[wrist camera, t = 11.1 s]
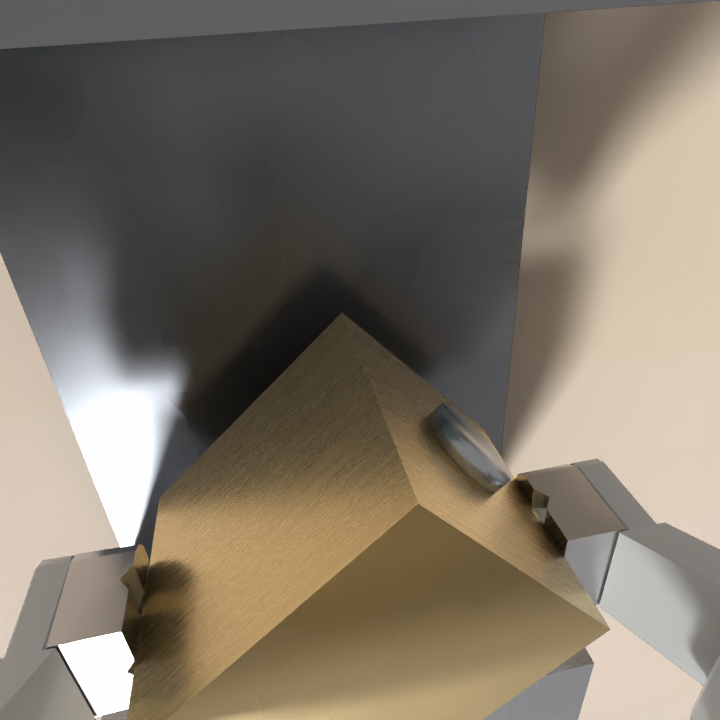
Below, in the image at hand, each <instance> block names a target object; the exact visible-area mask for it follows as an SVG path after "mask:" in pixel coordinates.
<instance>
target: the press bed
mask: <svg viewBox="0 0 720 720" xmlns="http://www.w3.org/2000/svg"><path fill="white" fill-rule="evenodd" d="M544 19H545V13H531V14H516V15H501V16H486V17H471V18H456V19H442V20H427V21H412V22H397V23H382V24H367V25H352V26H338V27H323V28H308V29H293V30H278V31H263V32H248V33H233V34H219V35H204V36H189V37H174V38H159V39H144V40H129V41H115V42H100V43H85V44H70V45H55V46H40V47H25V48H11V49H0V253H1V255H2V258H3V260H4V262H5V265H6V267H7V270H8V272H9V275H10V277H11V280H12V282H13V284H14V287H15V289H16V292H17V294H18V297H19V299H20V302H21V304H22V307H23V309H24V311H25V314H26V316H27V319H28V321H29V324H30V326H31V329H32V331H33V334H34V336H35V338H36V341H37V343H38V346H39V348H40V351H41V353H42V356H43V358H44V360H45V363H46V365H47V368H48V370H49V373H50V375H51V378H52V380H53V383H54V385H55V387H56V390H57V392H58V395H59V397H60V400H61V402H62V405H63V407H64V409H65V412H66V414H67V417H68V419H69V422H70V424H71V427H72V429H73V432H74V434H75V436H76V439H77V441H78V444H79V446H80V449H81V451H82V454H83V456H84V458H85V461H86V463H87V466H88V468H89V471H90V473H91V476H92V478H93V481H94V483H95V485H96V488H97V490H98V493H99V495H100V498H101V500H102V503H103V505H104V507H105V510H106V512H107V515H108V517H109V520H110V522H111V525H112V527H113V530H114V532H115V534H116V537H117V539H118V542H119V544H120V547H125V546H132V545H138V544H140V545H143V546H144V548H145V550H146V553H147V555H148V558H149V562H148V569H147V572H149V565H150V558H151V552H152V545H153V538H154V531H155V524H156V518H157V511H158V504H159V498H160V497H161V496H162V495H163V494H164V493H165V492H166V491H167V490H168V489H169V488H170V487H171V486H172V485H173V484H174V483H175V482H176V481H177V480H178V479H179V478H180V477H181V476H182V475H183V473H184V472H185V471H186V470H187V469H188V468H189V467H190V466H191V465H192V464H193V463H194V462H195V461H196V460H197V459H198V458H199V457H200V456H201V455H202V454H203V453H204V452H205V451H206V450H207V449H208V448H209V447H210V446H211V445H212V444H213V443H214V442H215V441H216V440H217V439H218V438H219V437H220V436H221V435H222V434H223V433H224V432H225V431H226V430H227V429H228V428H229V427H230V426H231V425H232V424H233V423H234V422H235V421H236V420H237V419H238V418H239V417H240V416H241V415H242V414H243V413H244V412H245V411H246V410H247V409H248V407H249V406H250V405H251V404H252V403H253V402H254V401H255V400H256V399H257V398H258V397H259V396H260V395H261V394H262V393H263V392H264V391H265V390H266V389H267V388H268V387H269V386H270V385H271V384H272V383H273V382H274V381H275V380H276V379H277V378H278V377H279V376H280V375H281V374H282V373H283V372H284V371H285V370H286V369H287V368H288V367H289V366H290V365H291V364H292V363H293V362H294V361H295V360H296V359H297V358H298V357H299V356H300V355H301V354H302V353H303V352H304V351H305V350H306V349H307V348H308V347H309V346H310V345H311V344H312V343H313V341H314V340H315V339H316V338H317V337H318V336H319V335H320V334H321V333H322V332H323V331H324V330H325V329H326V328H327V327H328V326H329V325H330V324H331V323H332V322H333V321H334V320H335V319H336V318H337V317H338V316H339V315H340V314H341V313H344V314H345V315H346V316H347V317H348V318H350V319H351V320H352V321H353V322H354V323H356V324H357V325H358V326H359V327H361V328H362V329H363V330H364V331H365V332H367V333H368V334H369V335H370V336H371V337H373V338H374V339H375V340H376V341H378V342H379V343H380V344H381V345H382V346H384V347H385V348H386V349H387V350H388V351H390V352H391V353H392V354H393V355H395V356H396V357H397V358H398V359H399V360H401V361H402V362H403V363H404V364H406V365H407V366H408V367H409V368H410V369H412V370H413V371H414V372H415V373H416V374H418V375H419V376H420V377H421V378H423V379H424V380H425V381H426V382H427V383H429V384H430V385H431V386H432V387H433V388H435V389H436V390H437V391H438V392H440V393H441V394H442V395H443V396H444V397H446V398H447V399H448V400H449V401H450V402H452V403H453V404H454V405H455V406H457V407H458V408H459V409H460V410H461V411H463V412H464V413H465V414H466V415H467V416H469V417H470V418H471V419H472V420H474V421H475V422H476V423H477V424H478V425H480V426H481V427H482V428H483V429H484V431H485V432H486V434H487V436H488V437H489V439H490V440H491V442H492V443H493V445H494V447H495V448H496V450H497V451H498V453H499V454H500V456H501V446H502V436H503V426H504V416H505V406H506V396H507V386H508V377H509V367H510V357H511V347H512V337H513V327H514V317H515V307H516V297H517V287H518V277H519V267H520V257H521V248H522V238H523V228H524V218H525V208H526V198H527V188H528V178H529V168H530V158H531V148H532V138H533V128H534V119H535V109H536V99H537V89H538V79H539V69H540V59H541V49H542V39H543V29H544ZM593 665H594V662H593V661H592V659H591V657H590V655H589V654H588V652H587V650H586V648H583V649H582V650H580V651H579V652H578V653H576V654H575V655H573V656H572V657H571V658H569V659H568V660H566V661H565V662H563V663H562V664H561V665H559V666H558V667H556V668H555V669H554V670H552V671H551V672H549V673H548V674H546V675H545V676H544V677H542V678H541V679H539V680H538V681H537V682H535V683H534V684H532V685H531V686H529V687H528V688H527V689H525V690H524V691H522V692H521V693H520V694H518V695H517V696H515V697H514V698H513V699H511V700H510V701H508V702H507V703H505V704H504V705H503V706H501V707H500V708H498V709H497V710H496V711H494V712H493V713H491V714H490V715H488V716H487V717H486V718H484V719H483V720H578V717H579V714H580V710H581V707H582V703H583V700H584V696H585V693H586V690H587V686H588V683H589V679H590V676H591V672H592V669H593ZM127 715H128V709H126V710H122V711H118V712H114V713H110V714H106V715H102V719H101V720H127Z"/></svg>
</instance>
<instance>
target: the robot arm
mask: <svg viewBox="0 0 720 720" xmlns="http://www.w3.org/2000/svg"><path fill="white" fill-rule="evenodd" d="M515 480H516V482H517V484H518V485H519V487H520V488H521V490H522V492H523V493H524V495H525V496H526V498H527V499H528V501H529V503H530V504H531V506H532V507H533V508H534V510H535V511H536V513H537V514H538V516H539V518H540V519H541V521H542V522H543V524H544V526H545V528H546V529H547V531H548V533H549V534H550V536H551V537H552V539H553V540H554V542H555V544H556V545H557V547H558V548H559V550H560V551H561V553H562V555H563V556H564V557H565V559H566V560H567V562H568V563H569V565H570V566H571V568H572V570H573V571H574V573H575V574H576V576H577V577H578V579H579V581H580V582H581V584H582V585H583V587H584V588H585V590H586V592H587V593H588V595H589V596H590V598H591V600H592V601H593V603H594V604H595V605H598V604H599V607H600V608H601V609H602V610H604V611H605V612H606V613H608V614H609V615H610V616H611V617H613V618H614V619H615V620H617V621H618V622H619V623H621V624H622V625H623V626H625V627H626V628H627V629H629V630H630V631H631V632H633V633H634V634H635V635H637V636H638V637H639V638H641V639H642V640H643V641H645V642H646V643H647V644H649V645H650V646H651V647H653V648H654V649H655V650H657V651H658V652H659V653H660V654H662V655H663V656H664V657H666V658H667V659H668V660H670V661H671V662H672V663H674V664H675V665H676V666H678V667H679V668H680V669H682V670H683V671H684V672H686V673H687V674H688V675H690V676H691V677H692V678H694V679H695V680H696V681H698V682H699V683H700V684H702V685H703V688H702V690H701V692H700V694H699V696H698V699H697V701H696V703H695V705H694V707H693V709H692V713H691V717H690V719H691V720H720V549H718V548H716V547H714V546H712V545H710V544H708V543H705V542H703V541H701V540H699V539H697V538H695V537H693V536H691V535H689V534H687V533H685V532H683V531H681V530H679V529H677V528H675V527H673V526H671V525H669V524H667V523H660V524H656V522H655V521H654V520H653V519H652V518H651V517H650V516H649V514H648V513H647V512H646V511H645V510H644V509H643V507H642V506H641V505H640V504H639V503H638V502H637V500H636V499H635V498H634V497H633V496H632V495H631V493H630V492H629V491H628V490H627V489H626V488H625V486H624V485H623V484H622V483H621V482H620V481H619V480H618V478H617V477H616V476H615V475H614V474H613V473H612V471H611V470H610V469H609V468H608V467H607V466H606V464H605V463H604V462H602V461H600V460H599V459H593V460H588V461H582V462H577V463H572V464H570V465H569V464H566V465H561V466H556V467H551V468H546V469H541V470H535V471H530V472H525V473H520V474H518V475H517V477H516V479H515ZM148 562H149V558H148V555H147V553H146V550H145V548H144V546H143V545H140V544H138V545H132V546H125V547H119V548H113V549H107V550H100V551H94V552H88V553H82V554H76V555H73V556H66V557H60V558H54V559H48V560H43V561H42V562H41V563H40V564H39V566H38V567H37V568H36V569H35V572H34V574H33V577H32V580H31V583H30V586H29V589H28V592H27V594H26V597H25V600H24V603H23V606H22V609H21V611H20V614H19V617H18V620H17V623H16V626H15V629H14V631H13V634H12V637H11V640H10V643H9V646H8V648H7V651H6V654H5V657H4V658H1V659H0V720H96V718H95V717H98V716H102V715H106V714H110V713H114V712H118V711H122V710H126V709H128V708H129V701H130V694H131V688H132V681H133V674H134V667H135V660H136V654H137V647H138V640H139V633H140V626H141V620H142V613H143V606H144V599H145V592H146V586H147V579H148V572H147V569H148Z"/></svg>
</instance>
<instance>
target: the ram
mask: <svg viewBox="0 0 720 720" xmlns="http://www.w3.org/2000/svg"><path fill="white" fill-rule="evenodd" d="M709 1H720V0H0V49H11V48H25V47H40V46H55V45H70V44H85V43H100V42H115V41H129V40H144V39H159V38H174V37H189V36H204V35H219V34H233V33H248V32H263V31H278V30H293V29H308V28H323V27H338V26H352V25H367V24H382V23H397V22H412V21H427V20H442V19H456V18H471V17H486V16H501V15H516V14H531V13H546V12H560V11H575V10H590V9H605V8H620V7H635V6H650V5H664V4H679V3H694V2H709Z"/></svg>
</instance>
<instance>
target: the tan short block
mask: <svg viewBox="0 0 720 720" xmlns="http://www.w3.org/2000/svg"><path fill="white" fill-rule="evenodd" d="M609 630H610V628H609V626H608V625H607V623H606V622H605V620H604V618H603V617H602V615H601V614H600V612H599V611H598V609H597V607H596V606H595V604H594V603H593V601H592V600H591V598H590V596H589V595H588V593H587V592H586V590H585V588H584V587H583V585H582V584H581V582H580V581H579V579H578V577H577V576H576V574H575V573H574V571H573V570H572V568H571V566H570V565H569V563H568V562H567V560H566V559H565V557H564V556H563V555H562V553H561V551H560V550H559V548H558V547H557V545H556V544H555V542H554V540H553V539H552V537H551V536H550V534H549V533H548V531H547V529H546V528H545V526H544V524H543V522H542V521H541V519H540V518H539V516H538V514H537V513H536V511H535V510H534V508H533V507H532V506H531V504H530V503H529V501H528V499H527V498H526V496H525V495H524V493H523V492H522V490H521V488H520V487H519V485H518V484H517V482H516V480H515V478H514V477H513V475H512V473H511V472H510V470H509V469H508V467H507V466H506V464H505V462H504V461H503V459H502V458H501V456H500V454H499V453H498V451H497V450H496V448H495V447H494V445H493V443H492V442H491V440H490V439H489V437H488V436H487V434H486V432H485V431H484V429H483V428H482V427H481V426H480V425H478V424H477V423H476V422H475V421H474V420H472V419H471V418H470V417H469V416H467V415H466V414H465V413H464V412H463V411H461V410H460V409H459V408H458V407H457V406H455V405H454V404H453V403H452V402H450V401H449V400H448V399H447V398H446V397H444V396H443V395H442V394H441V393H440V392H438V391H437V390H436V389H435V388H433V387H432V386H431V385H430V384H429V383H427V382H426V381H425V380H424V379H423V378H421V377H420V376H419V375H418V374H416V373H415V372H414V371H413V370H412V369H410V368H409V367H408V366H407V365H406V364H404V363H403V362H402V361H401V360H399V359H398V358H397V357H396V356H395V355H393V354H392V353H391V352H390V351H388V350H387V349H386V348H385V347H384V346H382V345H381V344H380V343H379V342H378V341H376V340H375V339H374V338H373V337H371V336H370V335H369V334H368V333H367V332H365V331H364V330H363V329H362V328H361V327H359V326H358V325H357V324H356V323H354V322H353V321H352V320H351V319H350V318H348V317H347V316H346V315H345V314H344V313H341V314H340V315H339V316H338V317H337V318H336V319H335V320H334V321H333V322H332V323H331V324H330V325H329V326H328V327H327V328H326V329H325V330H324V331H323V332H322V333H321V334H320V335H319V336H318V337H317V338H316V339H315V340H314V341H313V343H312V344H311V345H310V346H309V347H308V348H307V349H306V350H305V351H304V352H303V353H302V354H301V355H300V356H299V357H298V358H297V359H296V360H295V361H294V362H293V363H292V364H291V365H290V366H289V367H288V368H287V369H286V370H285V371H284V372H283V373H282V374H281V375H280V376H279V377H278V378H277V379H276V380H275V381H274V382H273V383H272V384H271V385H270V386H269V387H268V388H267V389H266V390H265V391H264V392H263V393H262V394H261V395H260V396H259V397H258V398H257V399H256V400H255V401H254V402H253V403H252V404H251V405H250V406H249V407H248V409H247V410H246V411H245V412H244V413H243V414H242V415H241V416H240V417H239V418H238V419H237V420H236V421H235V422H234V423H233V424H232V425H231V426H230V427H229V428H228V429H227V430H226V431H225V432H224V433H223V434H222V435H221V436H220V437H219V438H218V439H217V440H216V441H215V442H214V443H213V444H212V445H211V446H210V447H209V448H208V449H207V450H206V451H205V452H204V453H203V454H202V455H201V456H200V457H199V458H198V459H197V460H196V461H195V462H194V463H193V464H192V465H191V466H190V467H189V468H188V469H187V470H186V471H185V472H184V473H183V475H182V476H181V477H180V478H179V479H178V480H177V481H176V482H175V483H174V484H173V485H172V486H171V487H170V488H169V489H168V490H167V491H166V492H165V493H164V494H163V495H162V496H161V497H160V498H159V504H158V511H157V518H156V524H155V531H154V538H153V545H152V552H151V558H150V565H149V572H148V579H147V586H146V592H145V599H144V606H143V613H142V620H141V626H140V633H139V640H138V647H137V654H136V660H135V667H134V674H133V681H132V688H131V694H130V701H129V708H128V715H127V720H483V719H484V718H486V717H487V716H488V715H490V714H491V713H493V712H494V711H496V710H497V709H498V708H500V707H501V706H503V705H504V704H505V703H507V702H508V701H510V700H511V699H513V698H514V697H515V696H517V695H518V694H520V693H521V692H522V691H524V690H525V689H527V688H528V687H529V686H531V685H532V684H534V683H535V682H537V681H538V680H539V679H541V678H542V677H544V676H545V675H546V674H548V673H549V672H551V671H552V670H554V669H555V668H556V667H558V666H559V665H561V664H562V663H563V662H565V661H566V660H568V659H569V658H571V657H572V656H573V655H575V654H576V653H578V652H579V651H580V650H582V649H583V648H585V647H586V646H587V645H589V644H590V643H592V642H593V641H595V640H596V639H597V638H599V637H600V636H602V635H603V634H604V633H606V632H607V631H609Z"/></svg>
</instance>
